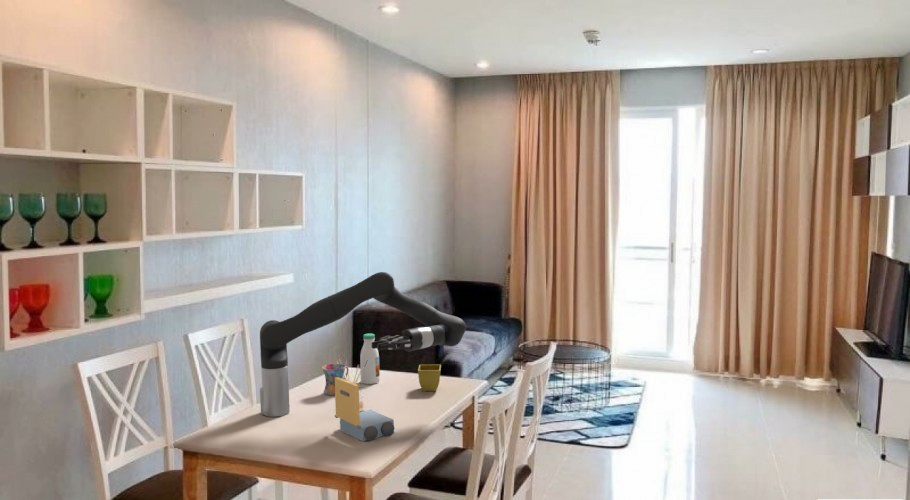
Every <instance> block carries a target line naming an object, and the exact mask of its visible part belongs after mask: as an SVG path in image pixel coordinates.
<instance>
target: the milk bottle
mask: <svg viewBox="0 0 910 500" xmlns="http://www.w3.org/2000/svg"><path fill="white" fill-rule="evenodd" d="M375 336H376V334H374V333H365V334H363V341H364V342H363V345H362V348H361V350H360V357H359V358H360V361H359V362H360V363H359V364H360V365H359V366H360V382H361V384H364V385H375V384H378V383H380V380H381V379H380V378H381V377H380V376H381V375H380V373H381V372H380V355H379V350H377V348H375V349H373V348H372V342H375V339H376V337H375ZM367 360H368V361H367ZM366 361H367V364H366V366H365V367H364V365H365V363H366ZM363 367H364V368H363ZM362 368H363V369H362Z"/></svg>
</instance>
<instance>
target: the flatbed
mask: <svg viewBox="0 0 910 500" xmlns="http://www.w3.org/2000/svg"><path fill="white" fill-rule="evenodd" d="M359 413H360V426H361V429H358V428H357V426H355V425H353V424H351V423H349V422H347V421H345V420H343V419H341V418H339V427H340V428H339V429H340V431H341V432H343V433H346V434H347V435H349V436H352V437H353V438H356V439H357V440H359V441H361V442H365V441H374V440H375V439H377V438H380V437H383V436H388V437H389V436H391V435H392V434H394V433H395V423H394V422H395V420H394V418H391V417H389V416H386V415H384V414H381V413H379V412H378V411H375V410H374V409H373V410H372V409H368V410H364V409H363V410H359Z"/></svg>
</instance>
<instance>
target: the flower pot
mask: <svg viewBox="0 0 910 500" xmlns="http://www.w3.org/2000/svg"><path fill="white" fill-rule="evenodd" d="M441 368H442V364H419V365H418V369H417V374H418V376H417V377H418V382H419V385H420V388H421V390H422V391H424V392H436V391H437V390H438V388H439V384H440V379H441V370H442V369H441Z"/></svg>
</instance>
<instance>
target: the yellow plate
mask: <svg viewBox="0 0 910 500" xmlns="http://www.w3.org/2000/svg"><path fill="white" fill-rule="evenodd" d="M359 387H360V385H359V384H357V383H354V382H352V381H348V380H346V379H342V378H339V377H335V395H334V397H335V399H334V401H335V414H334V417H335V418H336V419H340V418H341V419H343V420H345V421H347V422H349V423H351V424H353V425H355V426H357V428H358V429H361V426H360V413H359V412H360V388H359Z"/></svg>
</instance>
